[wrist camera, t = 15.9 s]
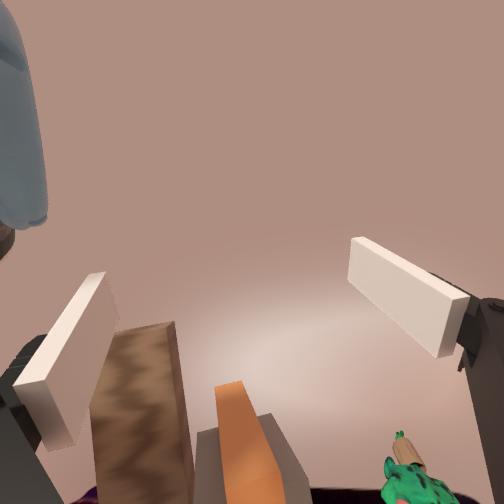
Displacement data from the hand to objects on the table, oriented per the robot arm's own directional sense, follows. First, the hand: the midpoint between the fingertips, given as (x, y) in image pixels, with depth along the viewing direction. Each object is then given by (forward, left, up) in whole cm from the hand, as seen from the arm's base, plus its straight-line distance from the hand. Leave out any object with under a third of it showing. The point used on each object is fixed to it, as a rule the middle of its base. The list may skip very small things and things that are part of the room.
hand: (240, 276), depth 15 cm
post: (-13, +29, -34) cm, 46 cm away
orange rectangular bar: (-1, +17, -18) cm, 25 cm away
